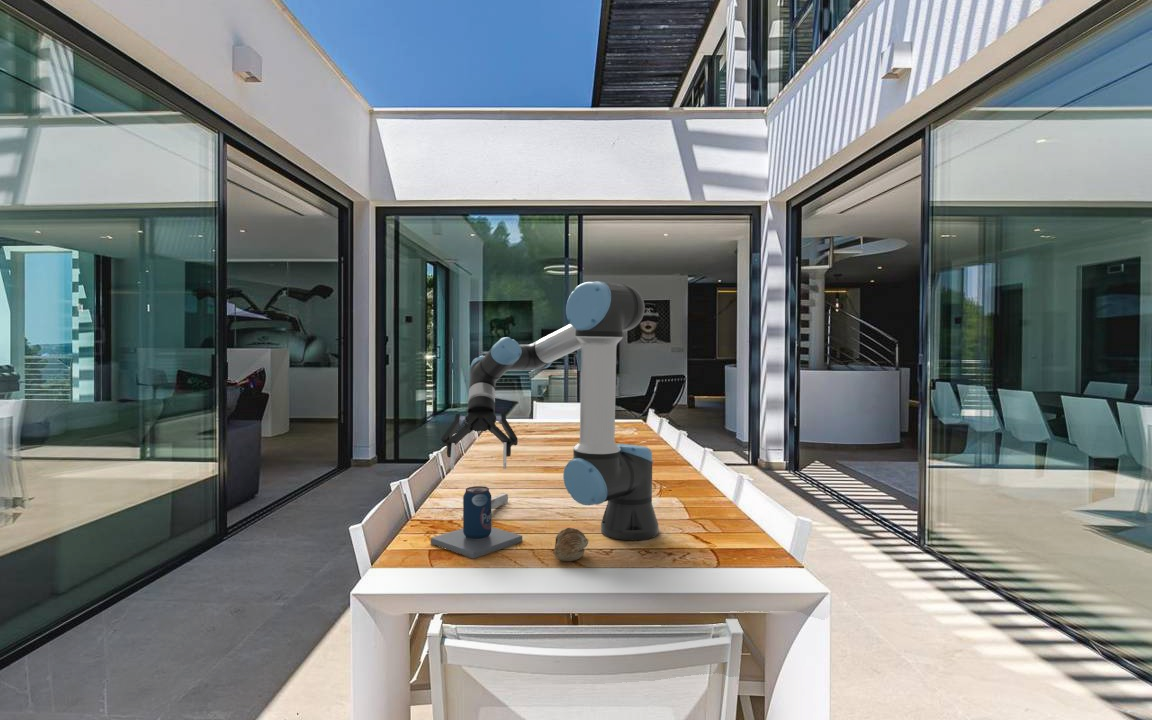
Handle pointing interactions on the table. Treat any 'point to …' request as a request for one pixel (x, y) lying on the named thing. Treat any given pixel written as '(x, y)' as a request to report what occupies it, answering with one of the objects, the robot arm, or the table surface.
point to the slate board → (476, 542)
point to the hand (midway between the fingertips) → (478, 466)
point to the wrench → (499, 500)
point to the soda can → (477, 513)
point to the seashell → (570, 544)
